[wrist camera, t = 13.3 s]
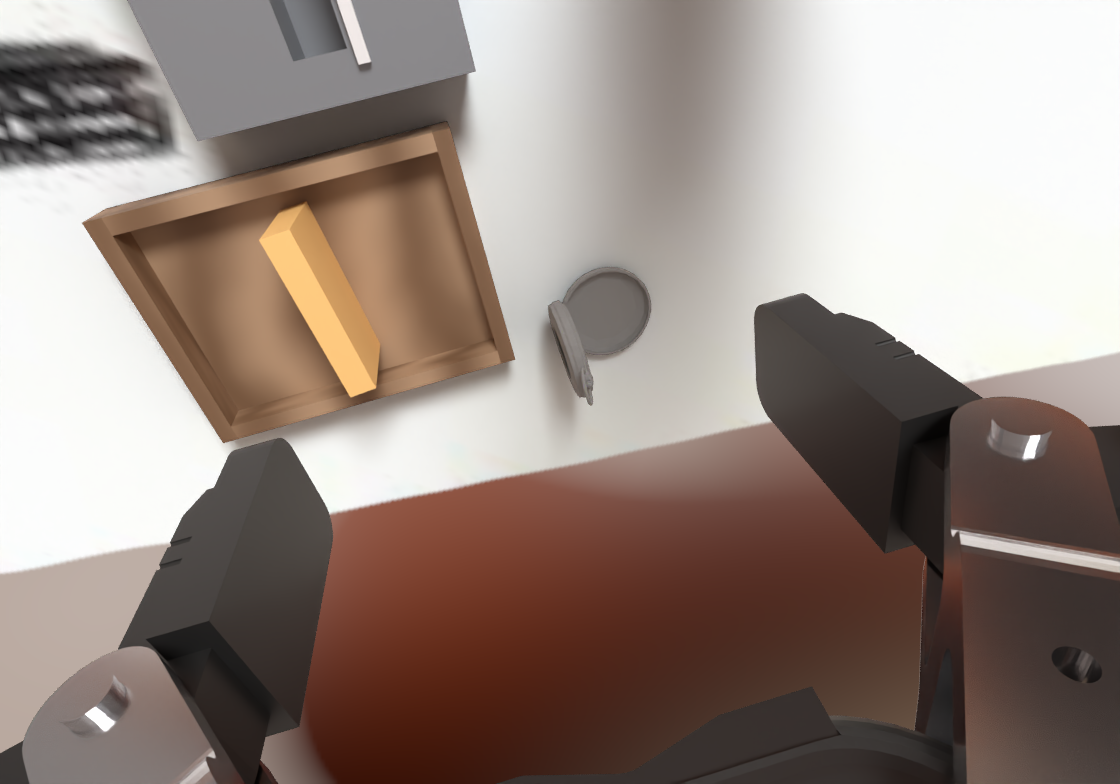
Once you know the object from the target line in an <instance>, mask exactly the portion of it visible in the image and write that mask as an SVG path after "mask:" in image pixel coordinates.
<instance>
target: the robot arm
mask: <svg viewBox="0 0 1120 784" xmlns="http://www.w3.org/2000/svg"><path fill="white" fill-rule="evenodd" d="M754 329H755V358H756V383H757V390H758V395H759V398H760V401H761V404H762V406H763V408H764V410H765V412H766V414H767V416H768V417H769V418H770V419H771V421H772V422H773V423H774V424H775V425H776V426H777V428H779V430H780V431H781V432H782V433H783V435H784V436H785V437H786V438H787V439H788V441H789V442H790V443H791V444H792V445H793V446H794V448H795V449H796V450H797V451H798V452H799V453H800V455H801V456H802V457H803V458H804V459H805V461H806V462H807V463H808V464H809V465H810V466H811V468H812V469H813V470H814V471H815V472H816V473H817V475H818V476H819V477H820V478H821V479H822V480H823V482H824V483H825V484H826V485H827V486H828V488H830V490H831V491H832V492H833V493H834V495H835V496H836V497H837V498H838V499H839V500H840V502H841V503H842V504H843V505H844V506H845V507H846V509H847V510H848V511H849V512H850V513H851V514H852V516H853V517H854V518H855V519H856V520H857V522H858V523H859V524H860V525H861V526H862V527H863V528H864V530H865V531H866V532H867V533H868V534H869V536H870V537H871V538H872V539H873V540H874V542H875V543H876V544H877V545H878V546H879V547H880V548H881V550H882V551H883V552H884V553H888V552H892V551H895V550H898V549H902V548H905V547H909V546H912V545H916V546H917V547H918V548H919V549H920V550H921V551H922V552H923V553H924V554H925V556H926V557H925V563H924V568H923V586H922V617H921V649H920V651H921V652H920V679H919V694H918V704H917V712H916V720H915V730H914V731H913V730H910V729H907V728H904V727H901V726H898V725H895V724H891V723H886V722H882V721H877V720H872V719H868V718H858V717H848V716H828V714H827V712H826V710H825V709H824V707H823V705H822V703H821V702H820V700H819V698H818V696H817V695H816V693H815V691H814V689H813V688H812V687H809V688H806V689H802V690H799V691H796V692H793V693H790V694H786V695H783V696H780V697H776V698H773V699H770V700H767V701H763V702H760V703H757V704H754V705H750V706H747V707H744V708H741V709H738V710H734V711H731V712H728V713H724V714H721V715H719V716H717V717H715V718H714V719H712V720H711V721H709V722H708V723H706V724H705V725H703V726H702V727H700V728H699V729H697V730H696V731H694V732H692V733H691V734H689V735H688V736H687V737H685V738H683V739H682V740H681V741H679V742H677V743H676V744H674V745H673V746H671V747H670V748H668V749H667V750H665V751H663V752H662V753H660V754H659V755H657V756H656V757H654V758H653V759H651V760H650V761H648V762H646V763H645V764H643V765H642V766H640V767H639V768H637V769H635V770H634V771H631V772H627V773H623V774H598V775H596V774H595V775H542V776H520V777H517V778H514V779H511V780H507V781H504V782H501V783H498V784H1120V425H1118V426H1098V427H1088V426H1087V425H1086V424H1085V423H1084V422H1083V421H1081V420H1080V419H1079V418H1077V417H1076V416H1074V415H1072V414H1071V413H1069V412H1067V411H1065V410H1063V409H1061V408H1058V407H1055V406H1053V405H1050V404H1047V403H1043V402H1040V401H1036V400H1031V399H1024V398H1017V397H991V398H984V399H983V398H982V397H980V396H979V395H978V394H976V393H975V392H973V391H972V390H970V389H969V388H967V387H966V386H965V385H963V384H962V383H960V382H959V381H957V380H956V379H954V378H953V377H951V376H950V375H949V374H947V373H946V372H944V371H943V370H941V369H940V368H938V367H937V366H935V365H934V364H933V363H931V362H930V361H928V360H927V359H925V358H924V357H922V356H921V355H919V354H918V355H915V353H914V350H912V349H911V348H909V347H908V346H906V345H905V344H903V343H902V342H900V341H898V342H896V340H895V337H893V336H892V335H890V334H889V333H887V332H886V331H884V330H883V329H882V328H880V327H879V326H877V325H876V324H874V323H873V322H870V321H867V320H863V319H860V318H857V317H854V316H851V315H848V314H845V313H838V314H833V313H832V312H830V311H829V310H828V309H826V308H825V307H824V306H822V305H821V304H820V303H818V302H817V301H815V300H814V299H813V298H811V297H810V296H808V295H807V294H804V293H801V294H797V295H794V296H790V297H787V298H783V299H779V300H776V301H772V302H769V303H765V304H762V305H759V306H758V307H757V308H756V311H755V316H754ZM332 541H333V531H332V523H331V519H330V515H329V512H328V510H327V507H326V505H325V503H324V502H323V500H322V498H321V496H320V495H319V493H318V491H317V490H316V488H315V486H314V484H313V483H312V481H311V479H310V478H309V476H308V474H307V472H306V471H305V469H304V467H303V466H302V464H301V462H300V460H299V459H298V457H297V455H296V454H295V452H294V450H293V449H292V447H291V446H290V444H289V443H288V442H287V441H286V440H284V439H282V438H277V439H273V440H270V441H266V442H263V443H259V444H256V445H252V446H248V447H245V448H241V449H238V450H234V451H232V452H231V453H230V454H229V456H228V458H227V460H226V463H225V465H224V467H223V469H222V471H221V474H220V476H219V478H218V480H217V482H216V485H215V487H214V488H212V489H208V490H206V491H205V493H204V494H203V495H202V496H201V497H200V498H199V499H198V500H197V501H196V502H195V503H194V505H193V506H192V507H191V508H190V509H189V510H188V511H187V512H186V513H185V514H184V515H183V517H182V519H181V521H180V523H179V525H178V527H177V529H176V531H175V533H174V535H173V538H172V540H171V542H170V543H171V547H169V548H167V550H166V552H165V554H164V556H163V558H162V560H161V562H160V564H159V565H160V570H157V571H156V572H155V575H154V576H153V578H152V581H151V583H150V585H149V587H148V589H147V591H146V593H145V595H144V597H143V599H142V601H141V603H140V605H139V607H138V609H137V611H136V613H135V615H134V618H133V620H132V622H131V624H130V626H129V628H128V630H127V632H126V634H125V636H124V638H123V640H122V642H121V644H120V646H119V648H118V650H116V651H113V652H111V653H109V654H106V655H104V656H102V657H100V658H98V659H97V660H95V661H93V662H91V663H90V664H88V665H86V666H85V667H83V668H82V669H80V670H79V671H78V672H77V673H75V674H74V675H73V676H71V677H70V678H69V679H68V680H67V681H65V682H64V683H63V684H62V685H61V686H60V687H59V688H58V689H57V690H56V691H55V692H54V693H53V694H52V695H51V696H50V697H49V698H48V699H47V701H46V702H45V703H44V704H43V706H42V707H41V708H40V710H39V711H38V712H37V714H36V715H35V717H34V718H33V720H32V722H31V724H30V726H29V727H28V730H27V732H26V735H25V737H24V740H23V741H22V742H20V743H18V744H17V745H15V746H13V747H11V748H9V749H7V750H6V751H4V752H2V753H0V784H278V782H277V781H276V779H275V778H274V776H273V774H272V773H271V771H270V770H269V769H268V767H267V766H266V765H265V764H264V763H263V762H262V761H261V760H260V759H261V754H262V750H263V746H264V741H265V737H267V736H270V735H274V734H277V733H280V732H284V731H287V730H290V729H294V728H297V727H299V725H300V720H301V714H302V708H303V703H304V697H305V691H306V686H307V681H308V675H309V670H310V664H311V658H312V653H313V647H314V642H315V636H316V631H317V625H318V620H319V614H320V609H321V603H322V597H323V592H324V586H325V581H326V575H327V570H328V564H329V559H330V553H331V548H332Z"/></svg>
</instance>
